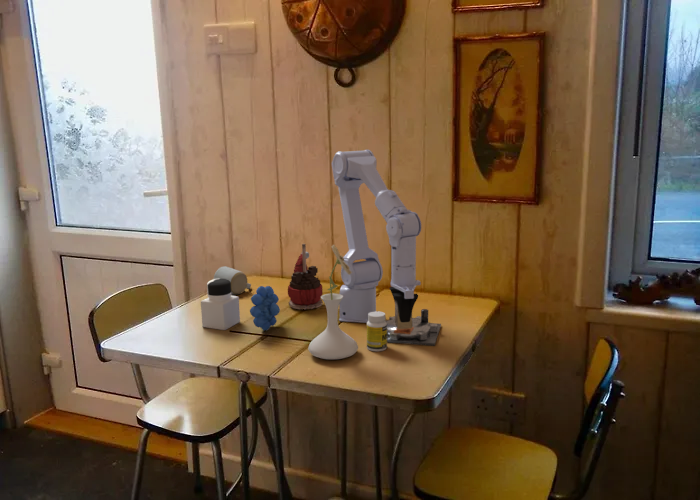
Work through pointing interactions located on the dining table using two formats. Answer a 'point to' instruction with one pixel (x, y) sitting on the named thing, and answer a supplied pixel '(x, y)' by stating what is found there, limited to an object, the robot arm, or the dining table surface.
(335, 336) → the flower in vase
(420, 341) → the base plate
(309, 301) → the cake
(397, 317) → the link block
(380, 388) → the dining table surface
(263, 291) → the grapes
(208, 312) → the medicine bottle
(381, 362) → the dining table surface
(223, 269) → the ceramic mug
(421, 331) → the sprocket
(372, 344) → the supplement bottle
